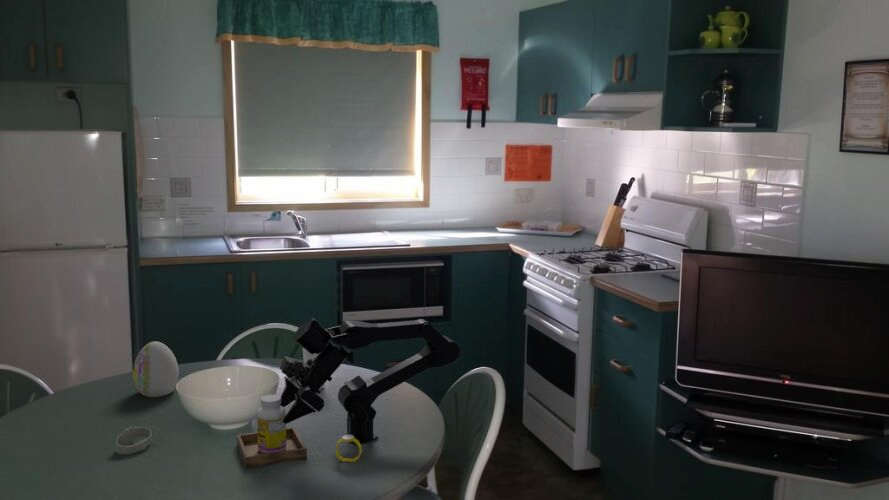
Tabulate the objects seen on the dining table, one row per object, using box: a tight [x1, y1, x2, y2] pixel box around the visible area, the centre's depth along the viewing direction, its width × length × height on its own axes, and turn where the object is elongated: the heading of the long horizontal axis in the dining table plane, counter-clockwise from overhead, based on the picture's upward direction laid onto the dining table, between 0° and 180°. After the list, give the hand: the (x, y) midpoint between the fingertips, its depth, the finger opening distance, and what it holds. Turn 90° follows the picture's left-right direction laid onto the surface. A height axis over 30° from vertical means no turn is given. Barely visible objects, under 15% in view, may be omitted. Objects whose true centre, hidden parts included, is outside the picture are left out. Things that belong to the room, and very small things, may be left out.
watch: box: [335, 434, 363, 463], centre depth 191 cm, size 6×3×6 cm, turn 88°
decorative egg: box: [132, 341, 180, 398], centre depth 235 cm, size 12×12×15 cm
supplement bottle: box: [256, 394, 287, 454], centre depth 195 cm, size 7×7×13 cm
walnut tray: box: [236, 426, 308, 469], centre depth 196 cm, size 14×14×2 cm
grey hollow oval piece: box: [115, 426, 153, 456], centre depth 197 cm, size 9×6×5 cm
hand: (280, 415), depth 196 cm, fingers open, 9 cm apart
